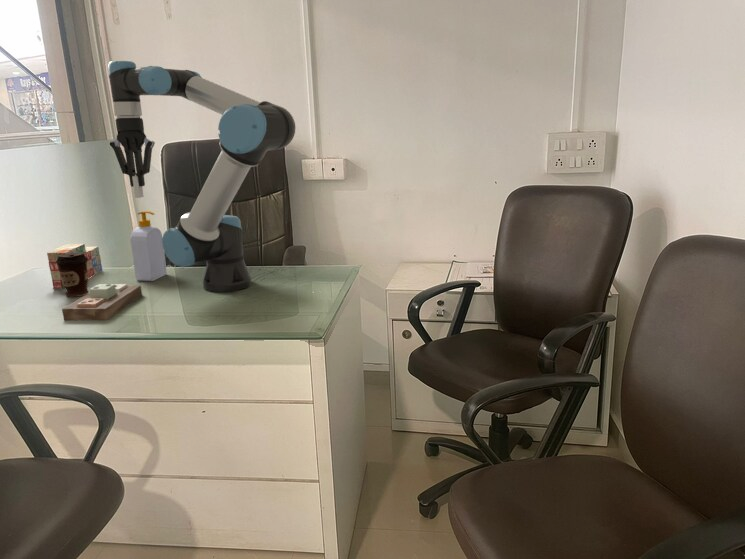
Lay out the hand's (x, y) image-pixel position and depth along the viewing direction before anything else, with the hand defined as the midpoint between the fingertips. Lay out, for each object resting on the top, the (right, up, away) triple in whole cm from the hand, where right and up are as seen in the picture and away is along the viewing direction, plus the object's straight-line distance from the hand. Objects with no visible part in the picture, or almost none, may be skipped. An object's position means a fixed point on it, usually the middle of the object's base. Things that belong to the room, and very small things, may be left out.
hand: (139, 197), depth 171 cm
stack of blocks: (-29, -26, +20) cm, 44 cm away
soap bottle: (-4, -25, +21) cm, 33 cm away
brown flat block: (-6, -33, -9) cm, 35 cm away
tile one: (-6, -30, -3) cm, 31 cm away
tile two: (-6, -30, -10) cm, 32 cm away
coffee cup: (-21, -30, +3) cm, 37 cm away
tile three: (-6, -34, -16) cm, 38 cm away
